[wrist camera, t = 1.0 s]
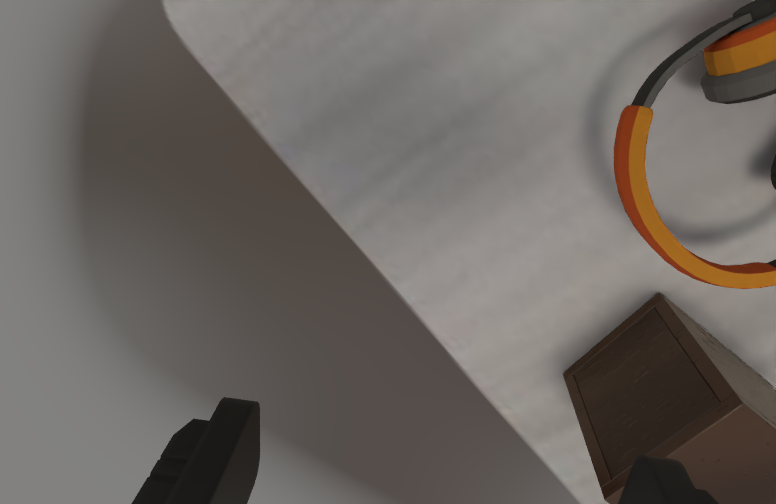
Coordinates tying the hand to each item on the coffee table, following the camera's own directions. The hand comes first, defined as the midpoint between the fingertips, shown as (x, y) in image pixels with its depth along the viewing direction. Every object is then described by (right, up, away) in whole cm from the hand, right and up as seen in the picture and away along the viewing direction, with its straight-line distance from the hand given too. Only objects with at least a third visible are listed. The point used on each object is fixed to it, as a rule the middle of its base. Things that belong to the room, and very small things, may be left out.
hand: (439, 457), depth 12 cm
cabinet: (+15, -3, +21) cm, 26 cm away
